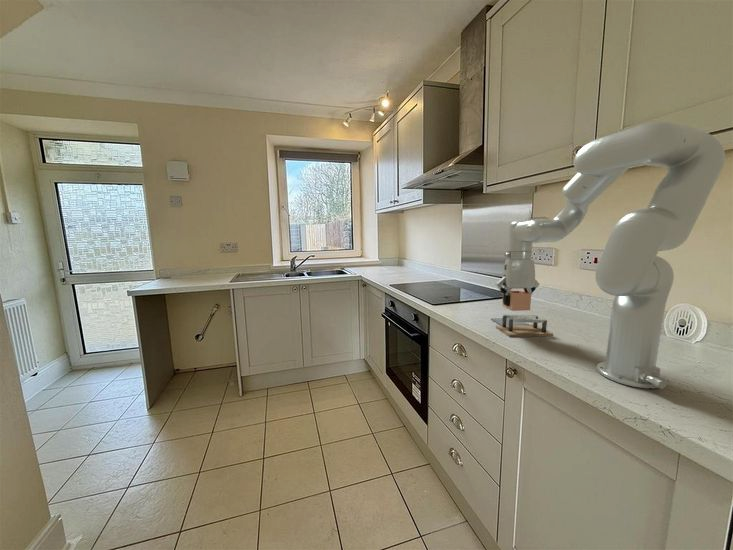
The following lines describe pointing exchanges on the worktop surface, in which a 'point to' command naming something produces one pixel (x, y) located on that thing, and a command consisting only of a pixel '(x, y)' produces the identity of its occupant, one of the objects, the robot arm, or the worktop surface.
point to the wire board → (523, 331)
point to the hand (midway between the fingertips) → (516, 304)
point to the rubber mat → (499, 321)
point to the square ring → (519, 300)
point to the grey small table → (524, 319)
